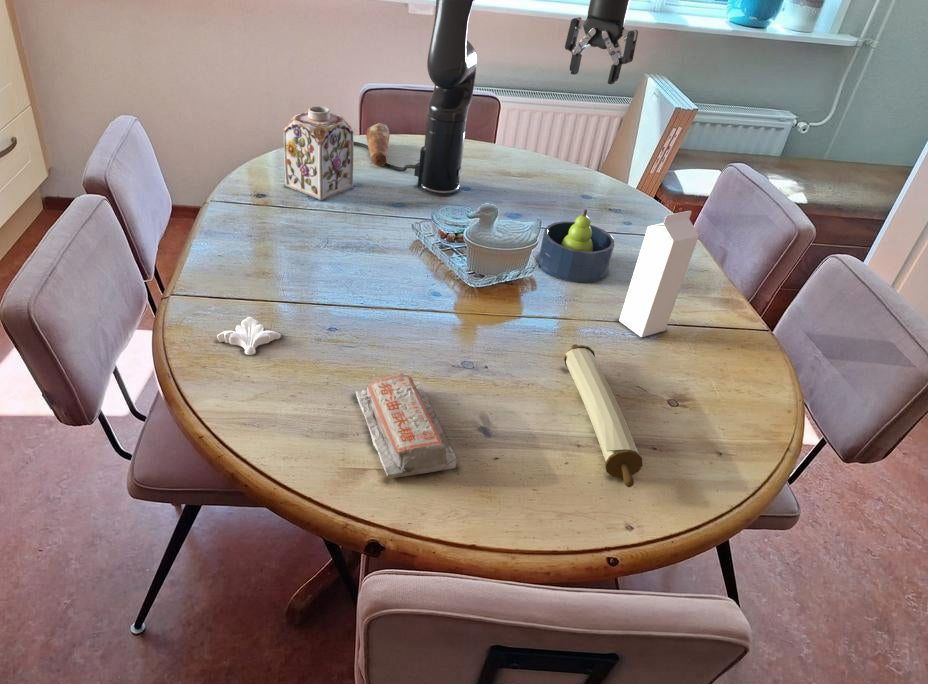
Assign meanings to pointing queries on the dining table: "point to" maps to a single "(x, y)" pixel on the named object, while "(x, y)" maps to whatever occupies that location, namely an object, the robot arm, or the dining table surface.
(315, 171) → the decorative jar
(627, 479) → the rolling pin
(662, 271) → the milk
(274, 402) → the dining table surface
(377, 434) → the packaged product
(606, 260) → the pot
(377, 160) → the bread
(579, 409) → the dining table surface
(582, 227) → the pear
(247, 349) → the acanthus leaf ornament
